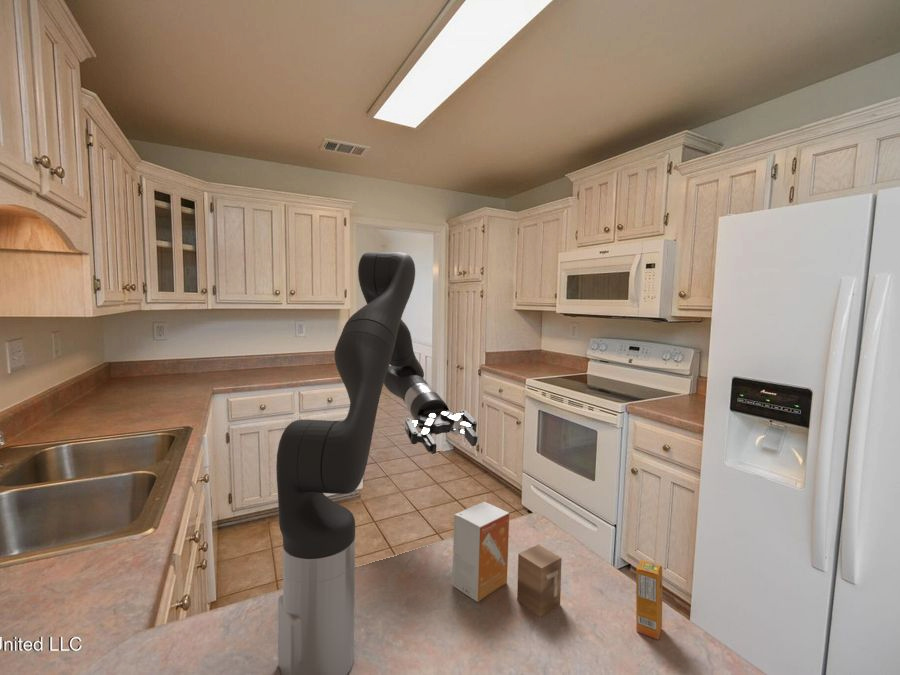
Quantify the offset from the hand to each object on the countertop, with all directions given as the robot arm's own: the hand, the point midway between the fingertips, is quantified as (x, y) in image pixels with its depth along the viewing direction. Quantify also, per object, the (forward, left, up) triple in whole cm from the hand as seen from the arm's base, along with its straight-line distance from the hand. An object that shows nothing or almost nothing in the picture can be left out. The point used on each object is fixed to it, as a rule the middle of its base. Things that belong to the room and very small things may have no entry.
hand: (455, 445), depth 79 cm
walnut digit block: (+5, -17, -23) cm, 29 cm away
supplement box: (+14, -31, -23) cm, 41 cm away
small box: (0, -8, -23) cm, 24 cm away
